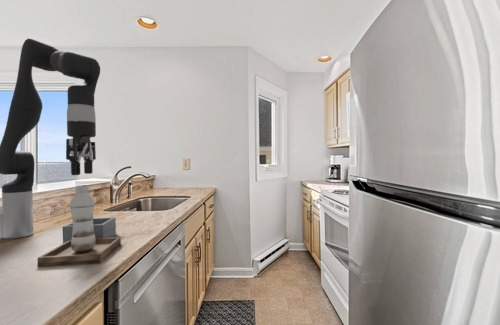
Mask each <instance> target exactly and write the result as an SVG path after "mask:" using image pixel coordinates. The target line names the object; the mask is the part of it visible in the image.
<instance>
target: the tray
mask: <svg viewBox="0 0 500 325" xmlns="http://www.w3.org/2000/svg"><path fill="white" fill-rule="evenodd" d="M121 238H122V237H119V236H118V237H116V236H115V237H111V238H96V244H95V247H94V248H93V249H91V250H88V251H85V252H74V251H73V250H72V247H71V240H69V241H67V242H65V243H63V242H62V244H60V245H58V246H56V247H55V248H53V249H50V250H49V251H47V252H45V253H43V254H42V255H40V256H38V257H37V267H38V268H40V267H41V268H45V267H46V268H47V267H60V266H63V267H64V266H79V265H80V266H81V265H94V264H95V265H96V264H101V263H102V262H104V261H105V260H106V259H107V258H108V257H109V256H110V255H111V254H112V253H113V252H114V251H116V250H117V249H118V248H119V247H120V246H121V245H122V239H121Z"/></svg>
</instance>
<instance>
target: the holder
mask: <svg viewBox="0 0 500 325" xmlns="http://www.w3.org/2000/svg"><path fill="white" fill-rule="evenodd" d="M116 218H117V217H93V228H94V234H95V238H114V236H115V235H117V229H116V228H117V225H116V224H117V223H116V222H117V221H116V220H117V219H116ZM72 233H73V221H72V222H70V223H67V224H65V225H62V244H63V243H65V242H67V241H69V240H72Z"/></svg>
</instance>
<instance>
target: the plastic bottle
mask: <svg viewBox="0 0 500 325" xmlns="http://www.w3.org/2000/svg"><path fill="white" fill-rule="evenodd" d="M74 188H75V189H74V192H75V195H74V196H73V197H72V198H71V200H70V203H69V207H70V214H71V219H72V222H73V233H72V240H71V247H72V250H73V251H74V252H85V251H88V250H91V249H93V248H94V247H95V244H96V238H95V234H94V228H93V218H94V211H95V200H94V198H93V197H92V196H91V194H89V192H90V186H89V185H85V184H84V185H75V186H74Z"/></svg>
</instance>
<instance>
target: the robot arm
mask: <svg viewBox="0 0 500 325" xmlns="http://www.w3.org/2000/svg"><path fill="white" fill-rule="evenodd" d="M20 51H21V52H20V58H19V61H18V62H19V64H18V71H17V78H16V83H15V86H14V91H13V94H12V98H11V101H10V107H9V109H8V116H7V121H6V125H5V129H4V133H3V136H2V139H1V141H0V175H6V176H7V175H9V176H10V175H16V178H15V179H13V180H11V181H9V182H8V183H5V184H3V185H2V186H1V200H2V201H1V203H2V206H1V207H2V208H1V209H2V211H1V212H0V239H5V240H7V239H18V238H19V239H21V238H25V237H28V236H29V237H30V236H32V235H33V234H34V203H33V202H34V200H33V197H34V196H33V187H34V183H35V182H34V181H35V157H34V155H33V153H32V152H31V151H28V150H17V148H18V147H19V144H20V143H21V141H22V140H23V139H24V137H25V136H27V135H28V134H29V133H30V132H31V131H32V130H33V129H35V127H36V126H37V125H38V124H39V122H40V119H41V115H42V110H43V103H42V99H41V96H40V95H39V92H38V91H37V90H38V89H36V86H35V83H34V81H33V72H32V71H33V68H36V69H40V70H43V71H46V72H58V73H61V74H62V75H63V76H66V77H70V78H75V79H79V80H82V81H83V80H84V83H83V84H82V85H81V84H79V85H78V84H75V85H73V84H72V85H71V86H68V89H67V107H66V108H67V110H66V132H67V133H66V135H67V136H68V137H71V138H66V140H65V142H66V143H65V147H66V148H65V159H66V161H68V162H69V163H70V174H71V176H80V175H81V159H83V167H84V170H83V172H84V174H86V175H87V174H88V175H90V174H91V175H92V174H93V172H94V171H93V170H94V169H93V162H94V161H95V160H96V159H97V158H96V157H97V156H96V154H97V152H96V142H95V141H92V140H91V138H96V135H97V134H96V132H97V131H96V130H97V129H96V128H97V127H96V125H97V124H96V123H97V122H96V109H95V93H96V87H97V84H98V82H99V77H100V75H101V66H100V63H99V62H98V61H97V59H95V58H93V57H90V56H86V55H82V54H79V53H75V52H70V51H64V50H59V49H58V48H56V47H55V46H52V45H50V44H47V43H44V42H42V41H38V40H35V39H32V38H26V39H25V40H24V42H23V43H22V46H21V50H20Z"/></svg>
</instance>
